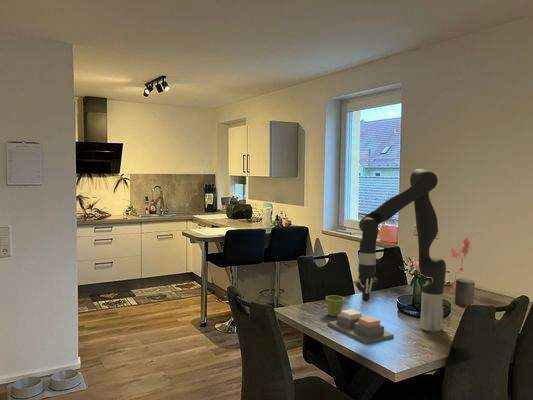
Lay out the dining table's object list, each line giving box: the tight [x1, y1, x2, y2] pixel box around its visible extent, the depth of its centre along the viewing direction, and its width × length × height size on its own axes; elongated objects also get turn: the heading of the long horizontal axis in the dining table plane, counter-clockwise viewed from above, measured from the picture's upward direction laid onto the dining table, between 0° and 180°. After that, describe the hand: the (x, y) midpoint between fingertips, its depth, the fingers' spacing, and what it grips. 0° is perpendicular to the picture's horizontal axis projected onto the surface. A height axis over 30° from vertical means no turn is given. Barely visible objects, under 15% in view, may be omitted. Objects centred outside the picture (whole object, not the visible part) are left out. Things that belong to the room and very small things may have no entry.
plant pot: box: [325, 294, 345, 317], centre depth 225 cm, size 9×9×9 cm
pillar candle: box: [454, 277, 476, 307], centre depth 250 cm, size 10×10×15 cm
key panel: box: [327, 314, 395, 345], centre depth 202 cm, size 16×26×5 cm, turn 30°
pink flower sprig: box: [446, 236, 473, 294], centre depth 274 cm, size 15×26×35 cm, turn 139°
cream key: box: [340, 309, 362, 320], centre depth 207 cm, size 7×7×3 cm
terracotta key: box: [358, 315, 381, 328], centre depth 197 cm, size 7×7×3 cm
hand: (365, 300), depth 199 cm, fingers closed
